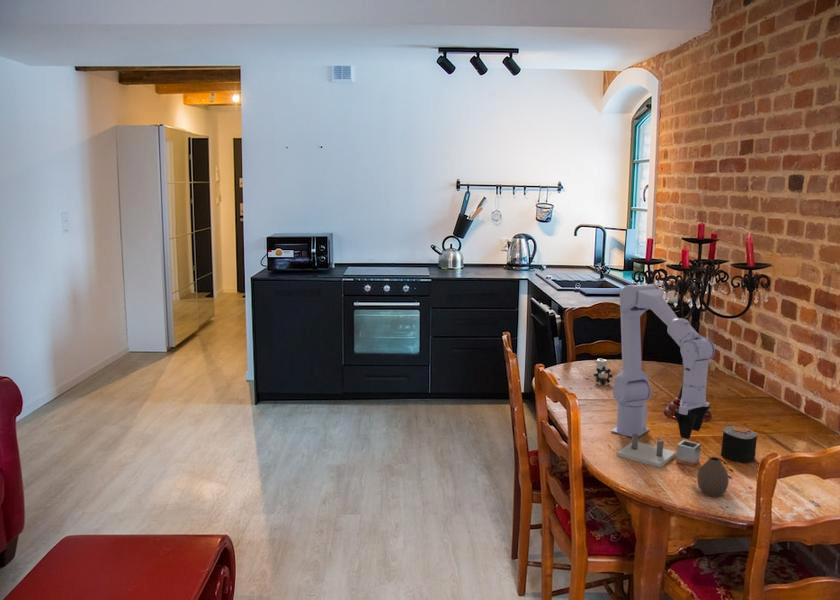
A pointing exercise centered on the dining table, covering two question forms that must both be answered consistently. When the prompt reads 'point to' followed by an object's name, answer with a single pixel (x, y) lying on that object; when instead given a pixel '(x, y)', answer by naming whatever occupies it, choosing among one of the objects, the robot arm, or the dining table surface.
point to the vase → (713, 478)
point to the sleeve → (688, 453)
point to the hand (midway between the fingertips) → (690, 434)
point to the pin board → (646, 452)
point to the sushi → (739, 444)
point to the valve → (602, 371)
